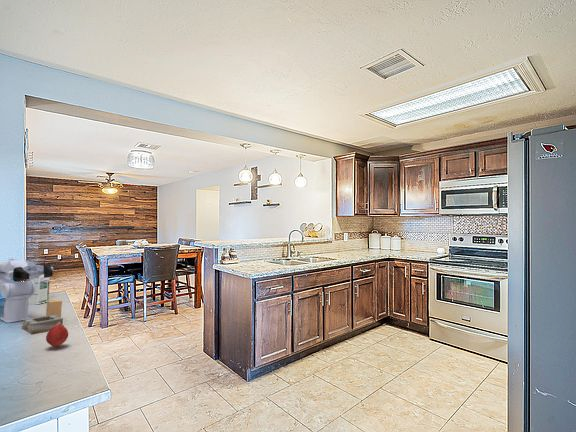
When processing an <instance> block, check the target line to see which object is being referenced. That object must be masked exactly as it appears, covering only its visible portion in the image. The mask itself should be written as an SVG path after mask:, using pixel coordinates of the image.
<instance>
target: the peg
mask: <svg viewBox="0 0 576 432" xmlns="http://www.w3.org/2000/svg"><path fill="white" fill-rule="evenodd" d="M62 305H63V301H62V300H60V299H54V300H53V299H52V300H49V301H47V303H46V311H45V316H48V315H56V316H58V317H60V318H62Z"/></svg>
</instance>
